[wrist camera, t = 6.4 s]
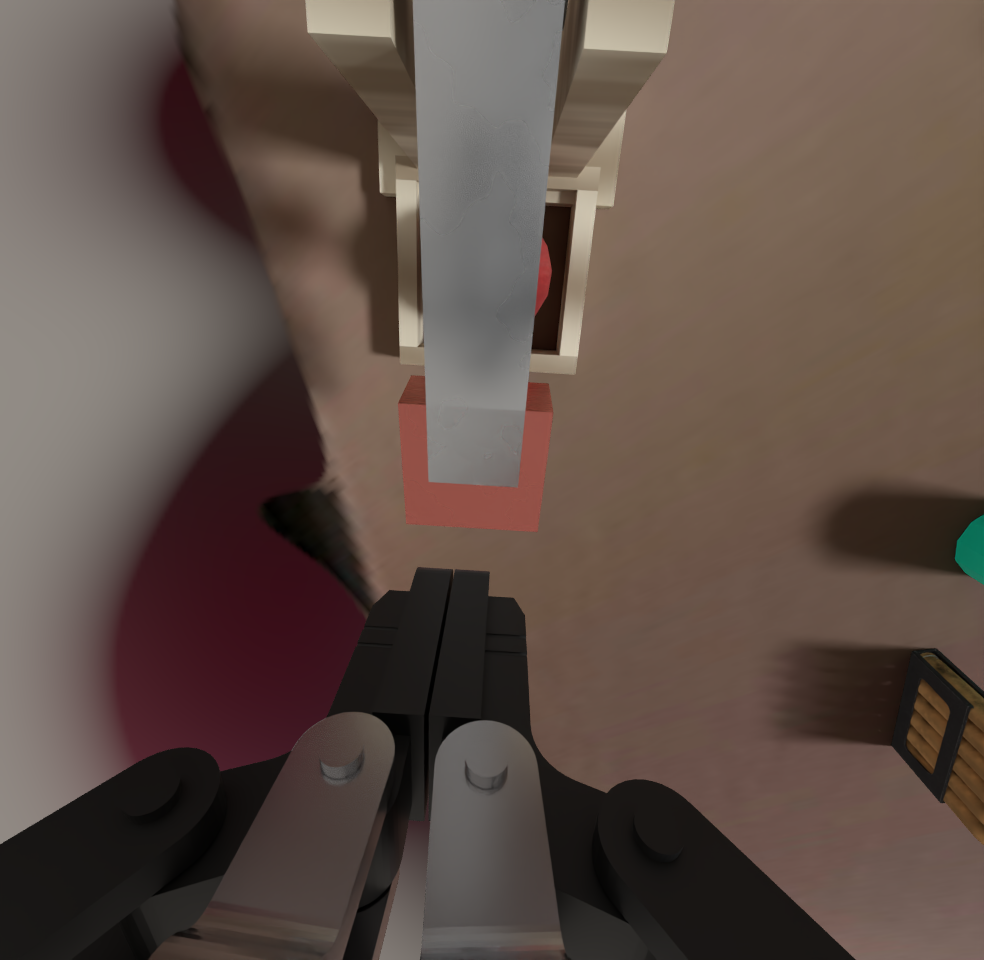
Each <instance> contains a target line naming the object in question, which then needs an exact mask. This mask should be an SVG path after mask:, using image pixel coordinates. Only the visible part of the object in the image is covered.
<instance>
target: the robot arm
mask: <svg viewBox="0 0 984 960" xmlns="http://www.w3.org/2000/svg"><path fill="white" fill-rule="evenodd" d="M489 574H490V572H488V571H473V570H457V569H455V573H454V578H453V569H439V568H423V567H418V568H417V570H416V573H415V576H414V579H413V582H412V586H411V589H410V591H394V590H389V591H388V592H387V593H386V594H385V595H384V596H383V597H382V598H381V599H380V600H378V601H377V602H376V603H375V604H374V605H373V606H372V608H371V611H370V613H369V616H368V618H367V621H366V623H365V627H364V630H363V631H362V633H361V635H360V638H359V640H358V645H357V647H356V648H355V650H354V652H353V655H352V657H351V660H350V662H349V665H348V667H347V669H346V672H345V674H344V677H343V679H342V682H341V684H340V687H339V689H338V691H337V694H336V696H335V699H334V701H333V704H332V706H331V709H330V711H329V713H328V715H327V717H326V718H325V719H324V720H322V721H320V722H318V723H317V724H315V725H314V726H312V727H311V728H310V729H309V730H307V731H306V732H305V733H304V734H303V735H302V737H301V738H300V739H299V740H298V742H297V743H296V745H295V746H294V748H293V749H292V751H290V752H288V753H286V754H284V755H281V756H279V757H276V758H273V759H270V760H266V761H262V762H258V763H254V764H250V765H246V766H241V767H237V768H233V769H229V770H225V771H220V770H219V767H218V764H217V762H216V760H215V759H214V758H213V757H212V756H211V755H210V754H208V753H207V752H205V751H203V750H200V749H197V748H176V749H170V750H166V751H163V752H159V753H156V754H154V755H152V756H149V757H147V758H146V759H143V760H142V761H139V762H138V763H136V764H134V765H132V766H131V767H129V768H127V769H126V770H124V771H122V772H121V773H119V774H117V775H116V776H114V777H112V778H111V779H109V780H107V781H106V782H104V783H102V784H101V785H99V786H97V787H96V788H94V789H92V790H91V791H89V792H87V793H85V794H84V795H82V796H80V797H79V798H77V799H75V800H74V801H72V802H70V803H69V804H67V805H66V806H64V807H62V808H60V809H59V810H57V811H55V812H54V813H52V814H50V815H49V816H47V817H45V818H44V819H42V820H40V821H39V822H37V823H35V824H34V825H32V826H30V827H29V828H27V829H25V830H23V831H22V832H20V833H18V834H17V835H15V836H14V837H12V838H10V839H8V840H7V841H5V842H3V843H2V844H0V960H379V957H380V953H381V949H382V945H383V941H384V937H385V933H386V929H387V924H388V920H389V916H390V912H391V908H392V904H393V900H394V896H395V892H396V888H397V884H398V878H399V868H400V864H401V860H402V855H403V849H404V844H405V839H406V833H407V828H408V822H409V820H416V821H424V820H425V814H426V807H427V800H428V794H429V821H431V823H430V837H429V851H428V866H427V879H426V894H425V909H424V922H423V936H422V948H421V957H420V960H855V959H854V958H853V957H852V956H851V955H850V954H849V953H848V952H847V951H846V950H845V949H844V948H843V947H842V946H841V945H840V944H839V943H838V942H836V941H835V940H834V939H833V938H832V937H831V936H830V935H829V934H828V933H827V932H826V931H825V930H824V929H823V928H822V927H821V926H820V925H818V924H817V923H816V922H815V921H814V920H813V919H812V918H811V917H810V916H809V915H808V914H807V913H806V912H805V911H804V910H803V909H802V908H801V907H799V906H798V905H797V904H796V903H795V902H794V901H793V900H792V899H791V898H790V897H789V896H788V895H787V894H786V893H785V892H784V891H783V890H781V889H780V888H779V887H778V886H777V885H776V884H775V883H774V882H773V881H772V880H771V879H770V878H769V877H768V876H767V875H766V874H765V873H764V872H762V871H761V870H760V869H759V868H758V867H757V866H756V865H755V864H754V863H753V862H752V861H751V860H750V859H749V858H748V857H747V856H746V855H744V854H743V853H742V852H741V851H740V850H739V849H738V848H737V847H736V846H735V845H734V844H733V843H732V842H731V841H730V840H729V839H728V838H727V837H725V836H724V835H723V834H722V833H721V832H720V831H719V830H718V829H717V828H716V827H715V826H714V825H713V824H712V823H711V822H710V821H709V820H707V819H706V818H705V817H704V816H703V815H702V814H701V813H700V812H699V811H698V810H697V809H696V808H695V807H694V806H693V805H692V804H691V803H689V802H688V801H687V800H686V799H685V798H684V797H682V796H681V795H680V794H678V793H677V792H675V791H674V790H672V789H670V788H668V787H666V786H664V785H662V784H659V783H656V782H653V781H648V780H637V779H634V780H628V781H624V782H622V783H619V784H617V785H616V786H614V787H613V788H611V789H610V791H609V792H608V793H605V792H602V791H600V790H597V789H595V788H592V787H590V786H587V785H585V784H583V783H580V782H578V781H575V780H573V779H571V778H569V777H567V776H565V775H564V774H562V773H560V772H559V771H557V770H556V769H555V768H554V767H553V766H552V765H550V764H549V763H548V762H547V760H546V759H545V758H544V757H543V756H542V754H541V753H540V751H539V750H538V748H537V746H536V744H535V742H534V739H533V736H532V733H531V725H530V706H529V686H528V666H527V647H526V627H525V615H524V613H523V612H522V610H521V609H520V607H519V605H518V604H517V602H516V601H515V599H514V598H507V597H492V596H488V590H489Z"/></svg>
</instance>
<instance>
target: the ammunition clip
mask: <svg viewBox="0 0 984 960" xmlns="http://www.w3.org/2000/svg"><path fill="white" fill-rule="evenodd" d="M891 745H892V747H893V748H894V749H895V750H896V751H897V752H898V754H899V755H900V756H901V757H902V758H903V760H904V761H905V762H906V763H907V764H908V765H909V767H910V768H911V769H912V770H913V771H914V772H915V774H916V775H917V776H918V777H919V778H920V780H921V781H922V782H923V783H924V784H925V785H926V787H927V788H928V789H929V790H930V791H931V792H932V794H933V795H934V796H935V797H936V798H937V799H938V801H939V802H940V803H946V804H947V805H948V806H949V807H950V808H951V810H952V811H953V812H954V813H955V814H956V816H957V817H958V818H959V819H960V820H961V821H962V823H963V824H964V825H965V826H966V827H967V829H968V830H969V831H970V832H971V833H972V834H973V836H974V837H975V838H976V839H977V840H978V841H980V842H981V843H982V844H983V845H984V691H983V690H982V689H981V688H979V687H978V686H977V685H976V684H975V683H974V682H973V681H972V680H971V679H970V678H968V677H967V676H966V675H965V674H964V673H963V672H962V671H961V670H960V669H959V668H957V667H956V666H955V665H954V664H953V663H952V662H951V661H950V660H949V659H948V658H946V657H945V656H944V655H943V654H942V653H941V652H940V651H939V650H938V649H927V650H918V651H912V653H911V658H910V662H909V667H908V671H907V676H906V680H905V685H904V689H903V694H902V698H901V703H900V708H899V712H898V717H897V721H896V726H895V730H894V735H893V739H892V744H891ZM944 801H945V802H944Z"/></svg>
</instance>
